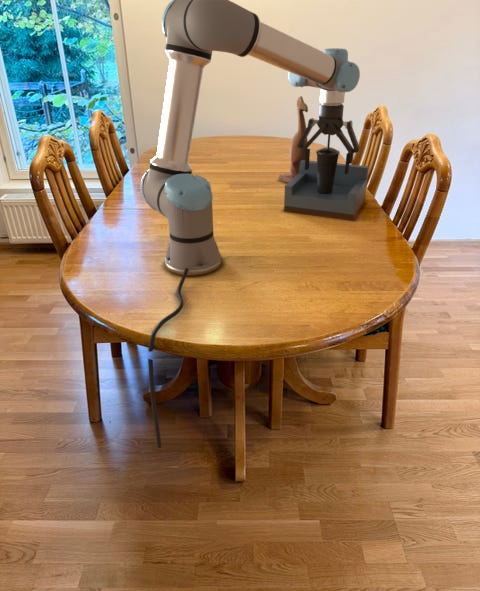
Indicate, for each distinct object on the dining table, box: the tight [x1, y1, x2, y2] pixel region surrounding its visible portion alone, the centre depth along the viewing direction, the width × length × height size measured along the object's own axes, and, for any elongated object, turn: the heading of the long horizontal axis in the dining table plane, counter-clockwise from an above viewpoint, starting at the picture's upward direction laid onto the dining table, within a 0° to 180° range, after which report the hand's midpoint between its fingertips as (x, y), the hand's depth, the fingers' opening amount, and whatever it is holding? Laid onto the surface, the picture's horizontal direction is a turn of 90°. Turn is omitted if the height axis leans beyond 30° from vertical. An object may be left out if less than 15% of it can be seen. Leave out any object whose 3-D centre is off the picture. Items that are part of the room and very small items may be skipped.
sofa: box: [283, 160, 370, 221], centre depth 168 cm, size 19×24×13 cm
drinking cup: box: [315, 134, 341, 194], centre depth 162 cm, size 8×8×20 cm
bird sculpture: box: [278, 95, 309, 184], centre depth 190 cm, size 11×12×32 cm
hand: (326, 171), depth 163 cm, fingers open, 13 cm apart
